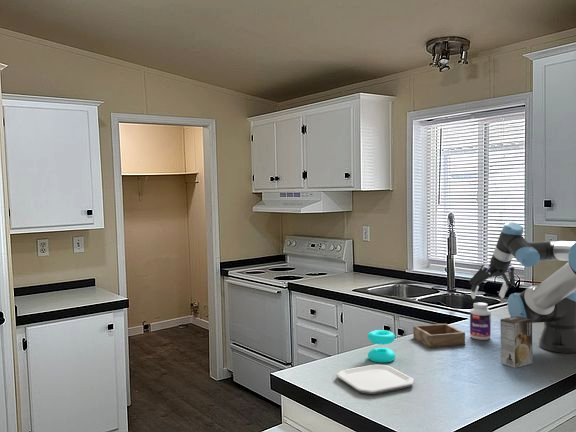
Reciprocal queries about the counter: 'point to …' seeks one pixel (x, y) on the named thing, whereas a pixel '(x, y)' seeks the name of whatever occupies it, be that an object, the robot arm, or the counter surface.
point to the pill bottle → (480, 321)
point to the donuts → (381, 353)
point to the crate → (439, 335)
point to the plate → (375, 379)
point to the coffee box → (516, 341)
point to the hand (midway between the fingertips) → (486, 296)
